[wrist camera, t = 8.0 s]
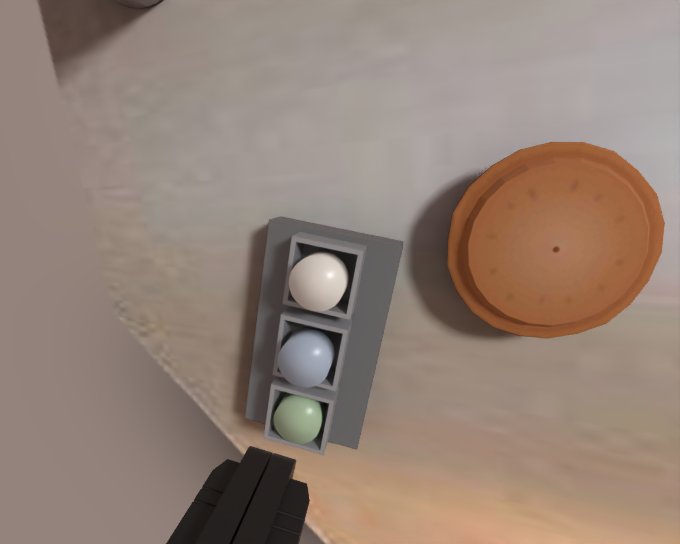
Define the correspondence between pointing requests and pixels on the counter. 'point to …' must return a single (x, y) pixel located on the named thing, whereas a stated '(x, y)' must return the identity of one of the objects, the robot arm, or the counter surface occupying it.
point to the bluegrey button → (306, 357)
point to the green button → (299, 418)
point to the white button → (318, 281)
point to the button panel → (322, 327)
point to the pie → (554, 239)
